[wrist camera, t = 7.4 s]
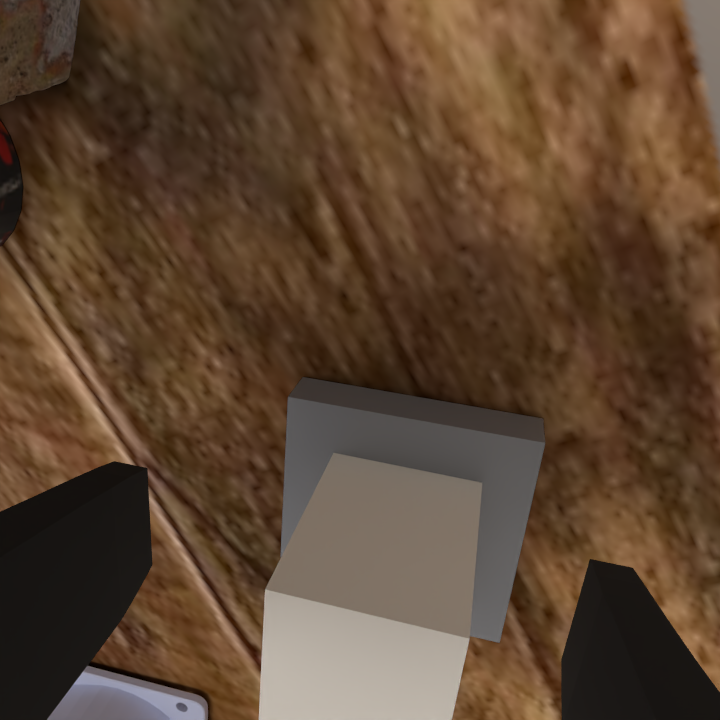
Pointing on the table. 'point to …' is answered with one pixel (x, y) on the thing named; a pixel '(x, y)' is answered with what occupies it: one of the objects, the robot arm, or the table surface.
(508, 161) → the table surface
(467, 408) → the slate base
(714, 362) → the table surface
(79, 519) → the robot arm
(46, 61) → the geological specimen
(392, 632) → the cream block
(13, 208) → the deodorant
